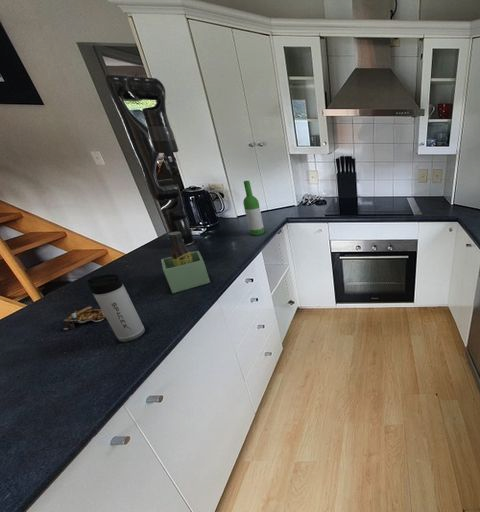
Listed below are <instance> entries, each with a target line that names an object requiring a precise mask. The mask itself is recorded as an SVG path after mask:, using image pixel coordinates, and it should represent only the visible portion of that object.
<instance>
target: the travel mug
mask: <svg viewBox="0 0 480 512" xmlns="http://www.w3.org/2000/svg"><path fill="white" fill-rule="evenodd" d="M86 282H87V286H88V287H89V289H90V290H91V294H92V295H93V297H94V299H95V301H96V303H97V304H98V306H99V307H100V308H99V309H102V311H103V313H104V315H105V317H106V320H107V322H108V324H109V326H110V327H111V329H112V331H113V333H114V334H115V337H116V338H117V340H118V341H119V342H121V343H126V342H130V341H133V340H136V339H138V338H140V337H141V336H143V335H144V333H145V332H146V328H145V327H144V324H143V322H142V320H141V318H140V316H139V314H138V312H137V310H136V308H135V306H134V303H133V302H132V299H131V297H130V295H129V293H128V292H127V289H126V287H125V286H124V283H123V282H122V279H121V277H120V276H119V275H118V274H113V273H112V274H111V273H110V274H103V275H98V276H92V277H90V278H88V279H87V280H86Z"/></svg>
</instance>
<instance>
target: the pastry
mask: <svg viewBox="0 0 480 512" xmlns="http://www.w3.org/2000/svg"><path fill="white" fill-rule="evenodd" d="M92 308H93V307H92V306H86V307H85V308H83V309H80V310H75V311H73V312H72V313H71V314H70V315H68V316H67V317H64V319H63V321H64V323H65V324H67V325H69V326H67V327H63V331H69V330H75V328H76V325H75V324H76V323H78V324H84V323H85V324H86V323H87V322H90V321H93V322H94V323H97V322H102V321H103V320H105V319H106V317H105V315H104V313H103V311H102V309H101V308H97V309H96V308H95V309H92ZM106 320H107V319H106Z"/></svg>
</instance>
